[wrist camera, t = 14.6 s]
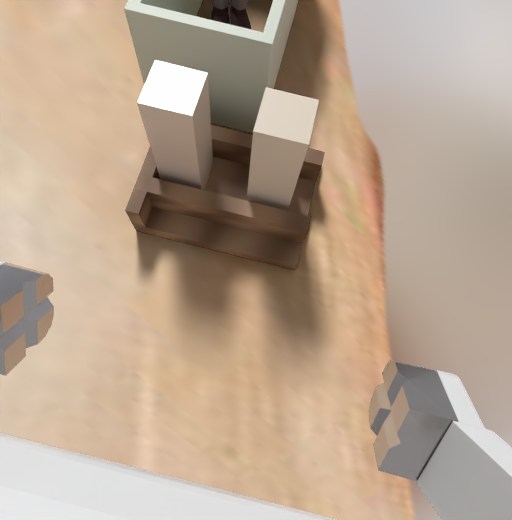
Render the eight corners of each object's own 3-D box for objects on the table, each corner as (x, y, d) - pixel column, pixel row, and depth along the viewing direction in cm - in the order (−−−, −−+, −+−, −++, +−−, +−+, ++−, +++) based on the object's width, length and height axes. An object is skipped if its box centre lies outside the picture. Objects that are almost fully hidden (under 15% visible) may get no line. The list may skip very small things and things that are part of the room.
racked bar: (162, 187, 40) (137, 102, 28) (175, 154, 41) (155, 59, 30) (202, 197, 40) (192, 115, 28) (213, 163, 41) (207, 72, 30)
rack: (136, 230, 40) (125, 210, 35) (175, 124, 44) (170, 95, 40) (294, 270, 39) (303, 254, 35) (318, 159, 44) (328, 133, 39)
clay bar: (245, 208, 40) (253, 131, 28) (255, 173, 41) (265, 87, 30) (285, 218, 39) (308, 144, 28) (293, 183, 41) (319, 99, 29)
